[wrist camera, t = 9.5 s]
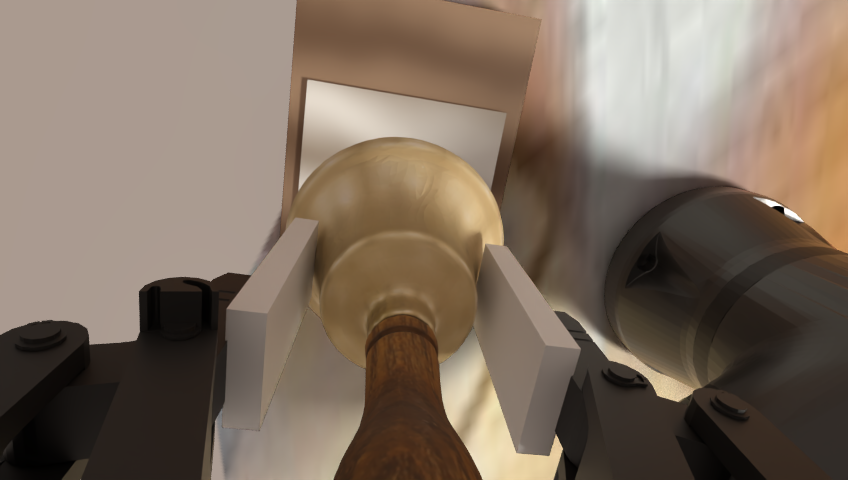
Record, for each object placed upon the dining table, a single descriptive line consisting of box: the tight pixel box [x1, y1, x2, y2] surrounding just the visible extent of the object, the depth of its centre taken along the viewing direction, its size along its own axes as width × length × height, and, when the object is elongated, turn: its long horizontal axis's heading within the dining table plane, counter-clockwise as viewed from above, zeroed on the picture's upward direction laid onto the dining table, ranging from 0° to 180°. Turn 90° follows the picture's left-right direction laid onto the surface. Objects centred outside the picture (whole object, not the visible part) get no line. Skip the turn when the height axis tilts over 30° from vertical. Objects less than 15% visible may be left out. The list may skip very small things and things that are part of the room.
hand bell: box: [285, 137, 504, 480], centre depth 10 cm, size 8×8×16 cm
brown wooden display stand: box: [280, 0, 542, 237], centre depth 30 cm, size 18×14×5 cm
